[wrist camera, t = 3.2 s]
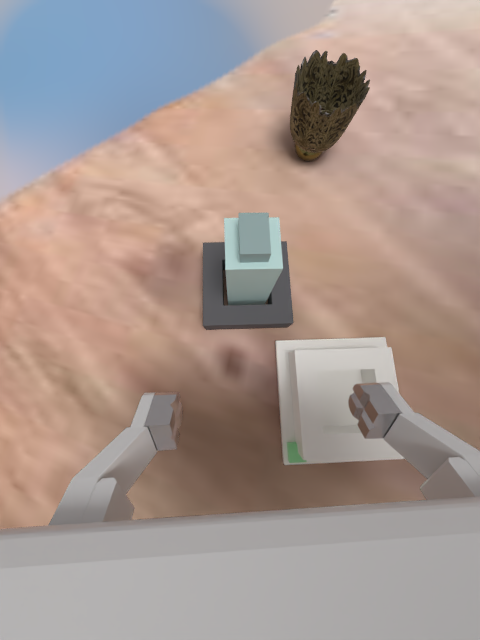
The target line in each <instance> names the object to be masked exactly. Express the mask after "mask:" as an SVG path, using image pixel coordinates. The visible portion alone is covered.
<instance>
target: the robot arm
mask: <svg viewBox="0 0 480 640" xmlns="http://www.w3.org/2000/svg"><path fill="white" fill-rule="evenodd" d="M353 391H354V393H353V394H351V395H350V397H349V400H348V403H349V409H350V411H351V413H352V415H353V416H354V417H355V418H356V419H358V424H357V425H358V427H359V429H360V431H361V433H362V434H363V436H364V438H365V439H378V438H384V440H385V441H386V442H387V443H388V444H389V445H390V446H391V447H392V448H394V449H395V450H396V451H397V452H398V453H399V454H400V455H401V456H402V457H404V458H405V459H406V460H407V461H408V462H409V463H410V464H411V465H413V466H414V467H415V468H416V469H417V470H418V471H419V472H420V473H421V474H423V475H424V476H425V477H426V478H427V480H426V481H425V482H424V483H423V484H422V485H421V487H420V490H421V492H422V493H423V495H424V497H425V498H426V500H419V501H404V502H389V503H374V504H359V505H344V506H329V507H315V508H300V509H285V510H270V511H255V512H240V513H226V514H211V515H196V516H181V517H166V518H152V519H137V520H131V519H132V516H133V512H134V506H133V504H132V503H131V501H130V500H129V499H128V497H127V496H126V493H127V492H128V491H129V489H130V488H131V487H132V485H133V484H134V483H135V481H136V480H137V479H138V477H139V476H140V475H141V473H142V472H143V471H144V469H145V468H146V467H147V465H148V464H149V462H150V461H151V460H152V458H153V457H154V456H155V454H156V453H157V451H161V450H173V449H177V446H178V441H179V435H180V433H179V429H178V428H179V427H180V425H181V424H182V418H183V407H182V403H181V402H179V401H180V394H179V392H156V393H144V394H143V395H142V397H141V400H140V402H139V405H138V408H137V410H136V413H135V416H134V418H133V421H132V424H131V426H130V427H127V428H126V429H124V430H123V431H122V432H121V433H120V434H119V435H118V436H117V437H116V438H115V439H114V440H113V441H112V442H111V443H110V444H109V445H107V446H106V447H105V448H104V449H103V450H102V451H101V452H100V453H99V454H98V455H97V456H96V457H95V458H94V459H93V460H92V461H90V462H89V463H88V464H87V465H86V466H85V467H84V468H83V469H82V470H81V471H80V472H79V473H78V474H77V475H76V476H75V477H73V478H72V480H71V482H70V484H69V486H68V488H67V490H66V492H65V494H64V496H63V498H62V500H61V502H60V504H59V506H58V508H57V510H56V512H55V514H54V515H53V517H52V519H51V521H50V523H49V525H48V526H33V527H19V528H5V529H0V640H480V451H479V450H477V449H476V448H474V447H472V446H471V445H469V444H467V443H466V442H464V441H463V440H461V439H459V438H458V437H456V436H455V435H453V434H451V433H450V432H448V431H446V430H445V429H443V428H442V427H440V426H438V425H437V424H435V423H434V422H432V421H430V420H429V419H427V418H425V417H424V416H422V415H421V414H419V413H414V411H413V410H412V409H411V408H410V406H409V405H408V404H407V403H406V401H405V400H404V399H403V398H402V396H401V395H400V394H399V393H398V391H397V390H396V389H395V388H394V386H393V385H392V384H391V383H389V382H384V383H361V384H355V385H354V387H353Z"/></svg>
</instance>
